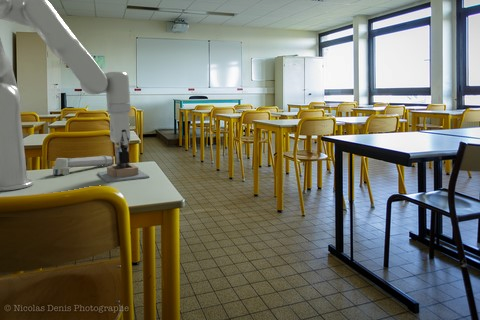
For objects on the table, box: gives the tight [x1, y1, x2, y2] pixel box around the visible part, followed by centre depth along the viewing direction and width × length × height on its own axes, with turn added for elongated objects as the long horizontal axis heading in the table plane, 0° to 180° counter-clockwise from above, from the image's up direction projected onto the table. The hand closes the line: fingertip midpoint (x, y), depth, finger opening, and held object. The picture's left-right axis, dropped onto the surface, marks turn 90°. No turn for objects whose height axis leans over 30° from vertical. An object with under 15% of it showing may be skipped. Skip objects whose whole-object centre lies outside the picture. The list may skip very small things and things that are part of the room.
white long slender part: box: [51, 155, 115, 176], centre depth 149 cm, size 5×7×25 cm
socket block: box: [96, 163, 150, 183], centre depth 138 cm, size 14×16×3 cm
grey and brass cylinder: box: [114, 143, 131, 169], centre depth 137 cm, size 4×4×9 cm
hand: (122, 161), depth 137 cm, fingers closed on grey and brass cylinder, 4 cm apart
